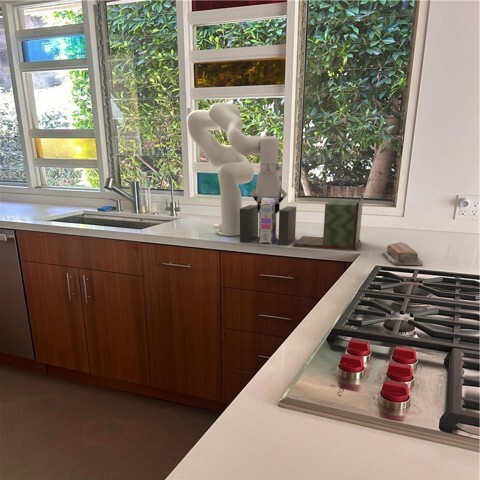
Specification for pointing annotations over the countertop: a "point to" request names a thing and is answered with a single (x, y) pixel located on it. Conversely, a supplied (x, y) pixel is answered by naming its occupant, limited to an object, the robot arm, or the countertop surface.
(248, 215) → the grey rectangular blocks
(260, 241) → the candy box
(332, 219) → the green zigzag bookend
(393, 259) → the butter dish
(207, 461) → the countertop surface
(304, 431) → the countertop surface
